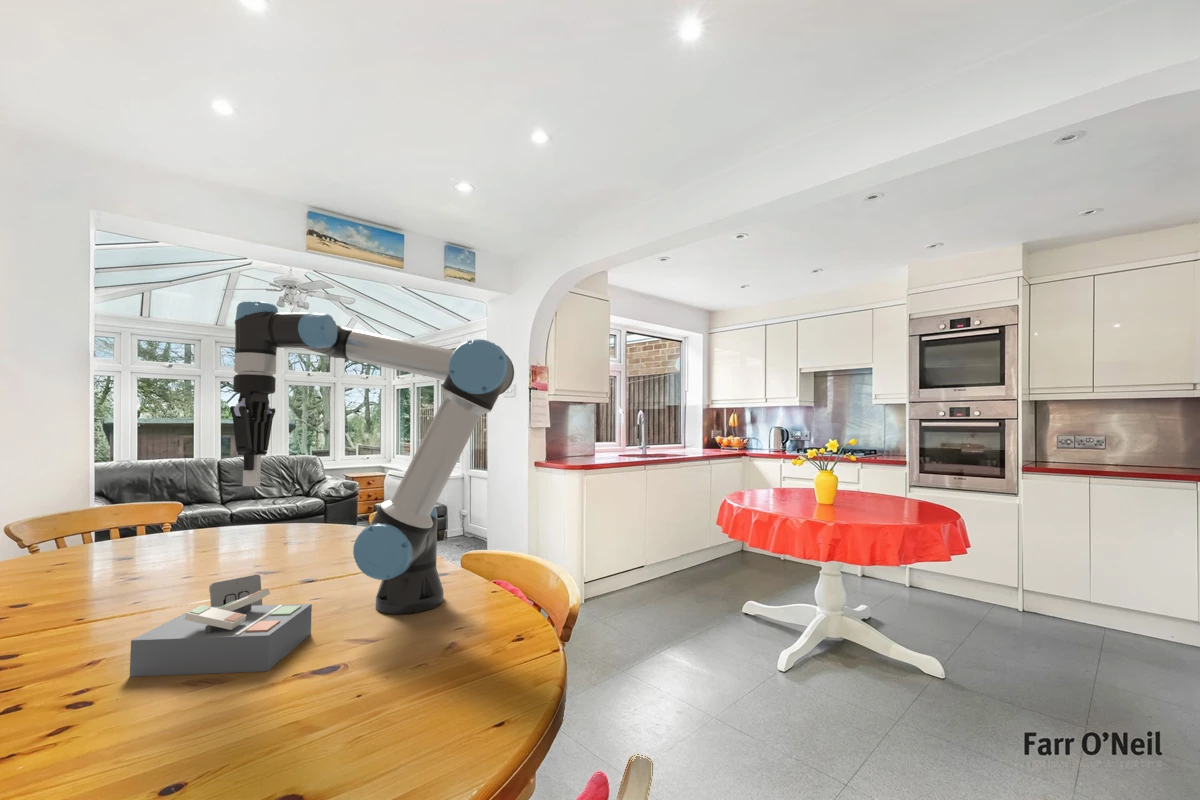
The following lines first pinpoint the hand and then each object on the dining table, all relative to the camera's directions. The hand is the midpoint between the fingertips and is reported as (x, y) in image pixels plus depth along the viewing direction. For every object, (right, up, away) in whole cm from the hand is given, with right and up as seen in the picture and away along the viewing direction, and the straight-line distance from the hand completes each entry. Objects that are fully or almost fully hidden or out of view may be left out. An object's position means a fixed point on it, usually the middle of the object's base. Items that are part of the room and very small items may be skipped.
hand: (251, 485), depth 110 cm
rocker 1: (+6, -21, -18) cm, 28 cm away
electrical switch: (-5, -30, +2) cm, 30 cm away
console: (+5, -29, -14) cm, 32 cm away
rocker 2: (+5, -21, -10) cm, 24 cm away
